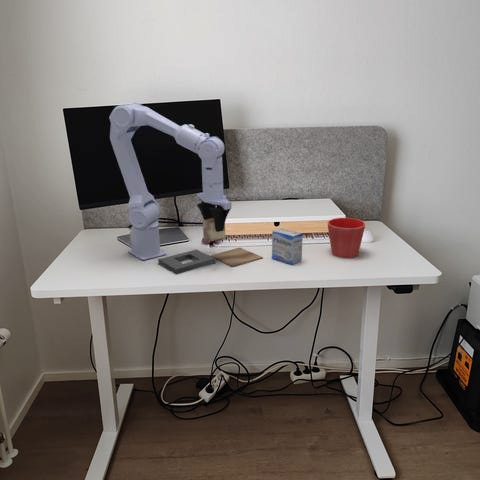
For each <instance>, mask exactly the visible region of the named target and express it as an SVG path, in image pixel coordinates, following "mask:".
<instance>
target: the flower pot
mask: <svg viewBox="0 0 480 480" xmlns="http://www.w3.org/2000/svg"><path fill="white" fill-rule="evenodd" d="M365 227H366V223H365V221H363V220H361V219H357V218H355V217H354V218H353V217H335V218H331V219H329V220H328V221H327V229H328V230H327V231H328V238H329V245H330V250H331V253H332V256H335V257H338V258H345V259H350V258H351V259H352V258H356V257H357V256H359V252H360V249H361V248H360V247H361V245H362V240H363V237H364V231H365Z"/></svg>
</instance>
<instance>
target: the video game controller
mask: <svg viewBox="0 0 480 480" xmlns="http://www.w3.org/2000/svg"><path fill="white" fill-rule="evenodd" d="M212 242H213V241H212V240H210V243H212ZM201 243H202V244H204V245H207V244H210V243H209V239H207V238H205V237H204V236H202V238H201Z"/></svg>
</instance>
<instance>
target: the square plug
mask: <svg viewBox="0 0 480 480" xmlns="http://www.w3.org/2000/svg"><path fill="white" fill-rule="evenodd" d="M202 231H203V236H202V237H205V238H207V239H209V240H212V242H213V240H215V241H218V240H222V239H224V238H226V224H225V225H224V229H223V231H220V232H216V229H215V223H214V218H211V219H206V220H204V219H202Z"/></svg>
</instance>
